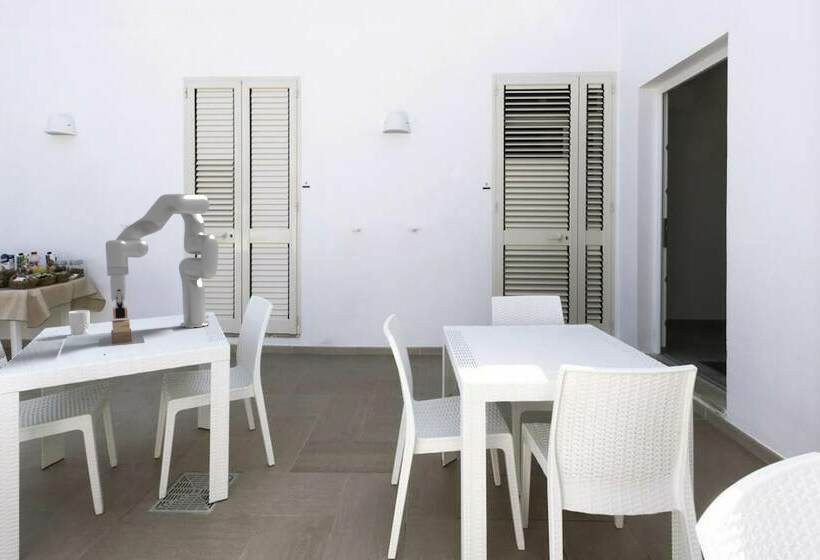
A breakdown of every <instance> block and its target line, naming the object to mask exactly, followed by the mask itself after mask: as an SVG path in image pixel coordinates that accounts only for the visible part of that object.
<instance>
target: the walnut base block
mask: <svg viewBox="0 0 820 560" xmlns="http://www.w3.org/2000/svg"><path fill="white" fill-rule="evenodd" d="M110 334H111V335H110V336H111V337H110V338H112V343H121V342H132V338H131V336H132V329H131V328H130V332H119V333H113V329H111V333H110Z"/></svg>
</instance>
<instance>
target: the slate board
mask: <svg viewBox="0 0 820 560" xmlns="http://www.w3.org/2000/svg"><path fill="white" fill-rule="evenodd" d="M131 338H132V342H121V343H112V338H111V337H105V338H99V341H98V348H102V347H103V348H105V347H111V346H112V347H114V346H116V347H117V346H127V345H134V344H136V345H137V344H145V338H144V335H143V334H141V335H140V334H139V335H138V334H137V335H131Z"/></svg>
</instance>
